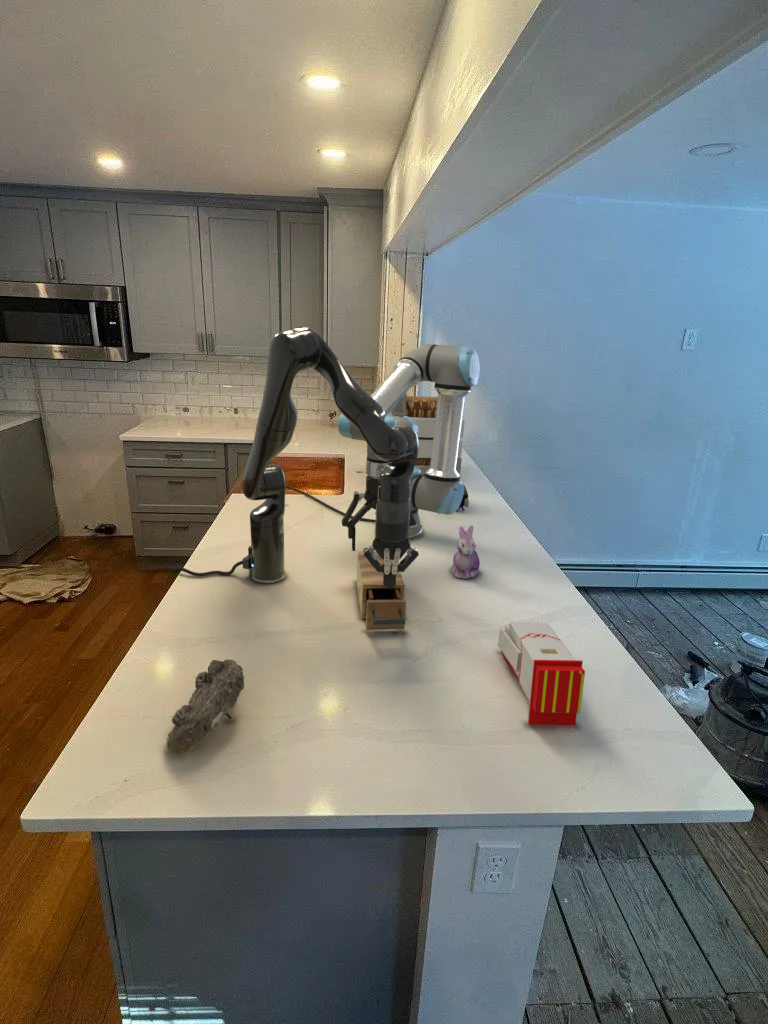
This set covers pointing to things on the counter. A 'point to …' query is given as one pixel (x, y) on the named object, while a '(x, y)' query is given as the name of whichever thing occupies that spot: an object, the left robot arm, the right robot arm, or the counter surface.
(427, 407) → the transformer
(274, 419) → the left robot arm
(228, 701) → the fossil
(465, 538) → the figurine
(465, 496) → the figurine character
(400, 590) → the cabinet
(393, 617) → the drawer
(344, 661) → the counter surface
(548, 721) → the toy
